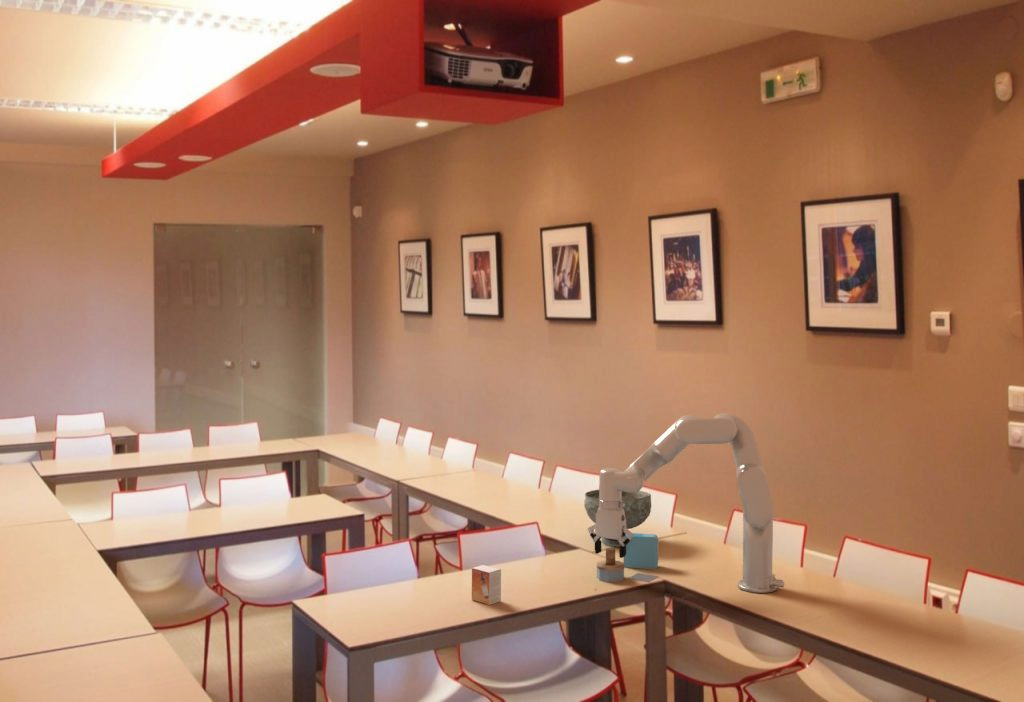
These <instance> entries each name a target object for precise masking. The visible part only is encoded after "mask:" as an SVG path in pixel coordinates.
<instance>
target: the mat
mask: <svg viewBox="0 0 1024 702" xmlns="http://www.w3.org/2000/svg"><path fill="white" fill-rule="evenodd" d="M659 577H660V576H657V575H652V574H646V573H642V572H637V573H636V574H633V575H631V576H628V578H627V580H634V581H639V582H645V583H651V582H652V581H654V580H655V579H657V578H659Z"/></svg>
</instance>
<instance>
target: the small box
mask: <svg viewBox="0 0 1024 702" xmlns="http://www.w3.org/2000/svg"><path fill="white" fill-rule="evenodd" d="M501 594H502V569H501V568H496V567H492V566H489V565H485V564H481V565H478V566H475V567H472V568H471V600H472V601H475V602H478V603H482V604H485V605H487V606H490V605H493V604H497V603H499V602H501V600H502V595H501Z"/></svg>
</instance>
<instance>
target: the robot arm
mask: <svg viewBox="0 0 1024 702" xmlns="http://www.w3.org/2000/svg"><path fill="white" fill-rule="evenodd" d="M756 440H757V439H756V436H755V435H754V432H753V430H752V428H751V427H750V426H749V425H748V423H747V422H746V421H744V420H743V419H742V418H740V417H739V416H737V415H734V414H731V413H726V412H725V413H724V412H722V413H718V414H716V415H715V416H714V417H711V418H710V417H709V418H707V417H705V418H704V417H703V418H701V417H700V418H697V417H695V415H691V414H685V415H682V416H681V417H678V419H677V420H676V421H675V422H674V423H672V424H671V425H670V427H669V428H668V429H666V430H665V431H664V432H663V433H662V434H661V435H660V436H659V437H658V438H657V439H655V441H654V442H653V443H652V444H650V446H649V447H648V448H647V449H646V450H645V451H644V452H643V453H642V454H641V455H639V457H638V458H636V459H635V460H634V461H633V462H632V463H631V464H630V465H629V466H628V467H627V468H626V469H625V470H624V471H621V470H620V469H619V468H613V467H607V468H606V467H605V468H602V469H601V470H600V471H599V484H598V485H599V487H598V490H599V508H598V510H597V515H596V523H594V525H591V526H589V527H588V528H587V530H588V531H587V532H588V533H589V536H590V537H591V539H592V540H593V542H594V552H595V553H594V554H597V555H598V554H600V553H601V552H602V538H609V539H616V540H618V541H619V543H620V544H621V546H620V547H619V556H618V557H619V558H620V559H621V558H622V559H623V557H625V555H626V545H627V544H628V543H629V542H630V541H631V539H632V537H633V536H634V534H633V532H632V531H631V530H630V529H627V528H626V518H625V513H624V509H622V507H625V504H624V503H622V491H624V492H630V493H635V492H638V491H641V490H642V488H643V486H644V483H645V482H646V481H647V480H648V479H649V478H650V477H651V476H652V475H653V474H654V473H656V472H657V471H658V470H659V469H660V468H662V467H663V466H665V465H668V464H669V463H671V462H672V461H673V460H674V459H676V458H677V457H678V456H679V455H680V454H681V453H682V452H683V451H684V450H685V449H686V448H687V447H688V446H690V445H714V444H715V445H720V444H729V446H730V449H731V452H732V453H731V454H732V457H733V461H734V466H735V471H736V482H737V487H738V491H739V495H740V499H741V505H742V521H743V523H742V525H743V526H742V529H743V531H742V534H743V535H742V536H743V538H742V580H738V582H737V587H738V588H739V589H740V590H742V591H746V592H749V593H756V594H757V593H758V594H764V593H765V594H766V593H771V592H775V591H776V590H777V589H778V587H779V588H784V587H785V581H784V580H783V579H777V577H776V574H774V573H773V548H774V547H773V546H774V545H773V543H774V541H773V540H774V534H773V533H774V525H773V521H774V520H775V513H776V512H775V508H774V503H773V499H772V493H771V490H770V484H769V480H768V476H767V474H766V470H765V469H764V467H763V464H762V460H761V458H762V457H761V455H760V451H759V448H758V444H757V441H756ZM626 534H627V535H628V537H627V539H625V537H626Z"/></svg>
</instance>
